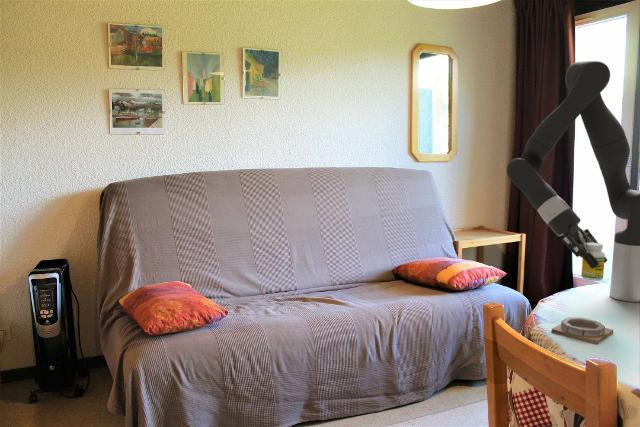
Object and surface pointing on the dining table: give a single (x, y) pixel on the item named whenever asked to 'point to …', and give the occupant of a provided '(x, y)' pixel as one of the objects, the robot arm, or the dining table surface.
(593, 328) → the collar
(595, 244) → the supplement bottle
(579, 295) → the dining table surface
